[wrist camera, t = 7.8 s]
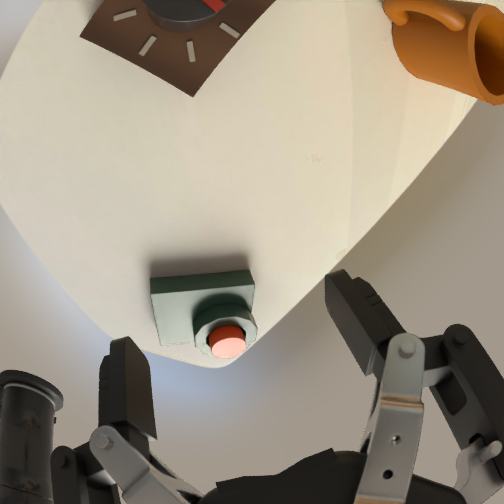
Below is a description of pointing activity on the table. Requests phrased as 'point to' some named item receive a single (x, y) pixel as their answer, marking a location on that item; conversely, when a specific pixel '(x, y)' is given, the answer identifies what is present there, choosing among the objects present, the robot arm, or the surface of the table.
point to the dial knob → (183, 13)
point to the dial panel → (171, 39)
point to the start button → (227, 341)
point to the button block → (202, 307)
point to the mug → (451, 44)
